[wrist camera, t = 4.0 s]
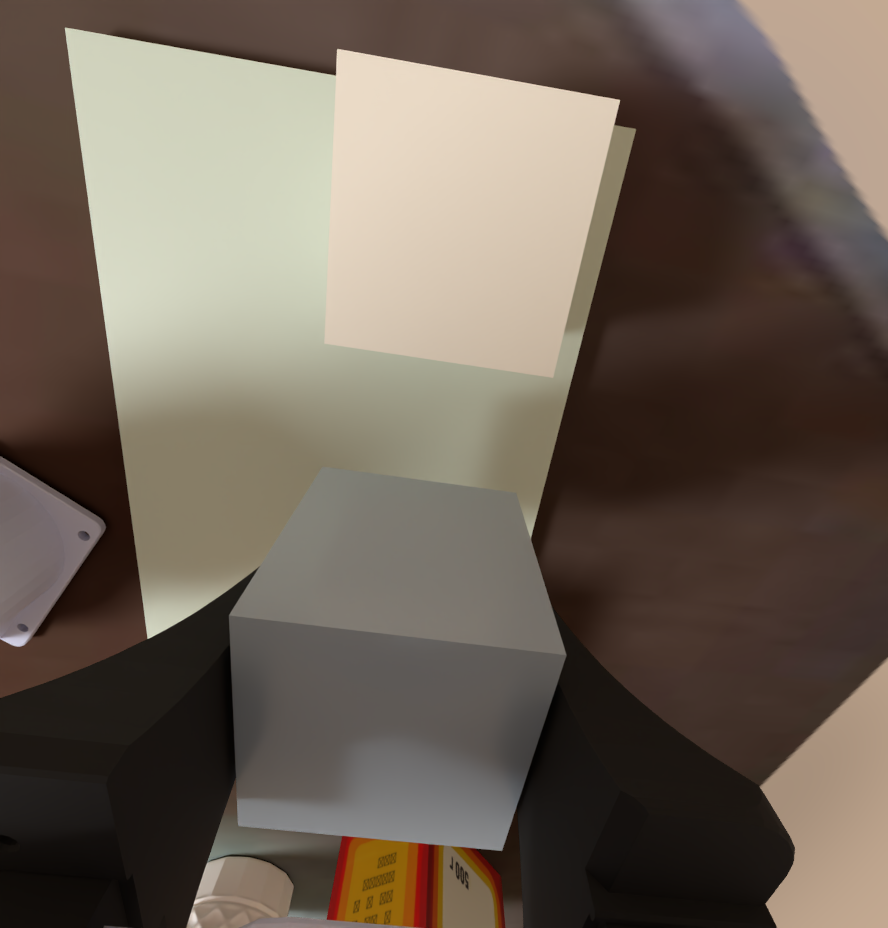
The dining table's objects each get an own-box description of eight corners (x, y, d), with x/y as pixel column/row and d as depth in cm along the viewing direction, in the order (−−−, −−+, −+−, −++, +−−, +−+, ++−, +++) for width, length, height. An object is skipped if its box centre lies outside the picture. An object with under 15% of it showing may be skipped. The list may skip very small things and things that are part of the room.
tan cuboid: (518, 341, 17) (553, 377, 11) (366, 317, 16) (324, 343, 11) (555, 164, 14) (620, 100, 9) (380, 134, 14) (337, 48, 9)
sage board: (482, 703, 25) (484, 719, 24) (164, 666, 24) (153, 682, 23) (624, 137, 15) (636, 128, 14) (89, 43, 14) (65, 27, 13)
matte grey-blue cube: (482, 640, 15) (501, 851, 10) (315, 620, 15) (238, 826, 9) (516, 492, 13) (567, 654, 8) (322, 466, 13) (228, 615, 7)
